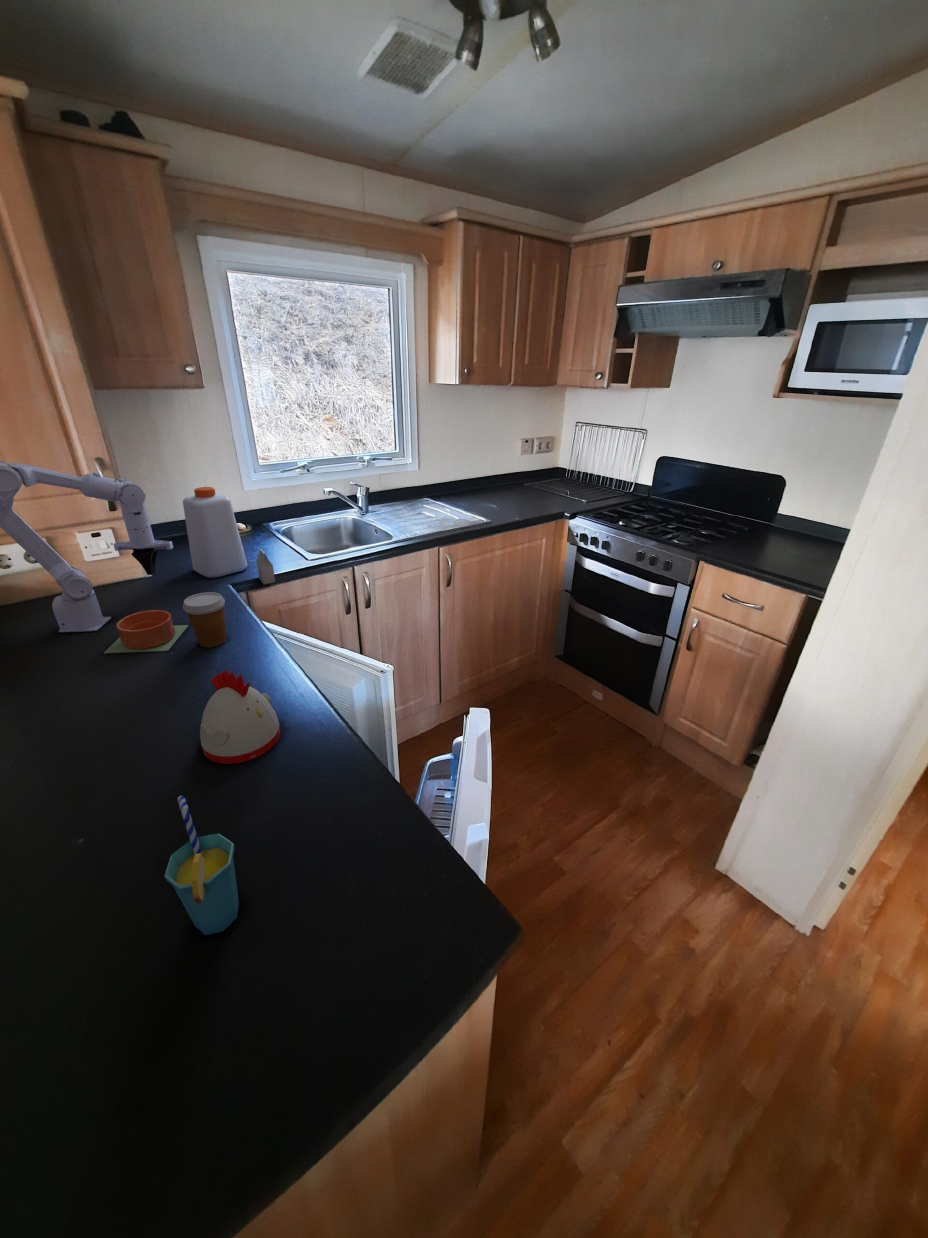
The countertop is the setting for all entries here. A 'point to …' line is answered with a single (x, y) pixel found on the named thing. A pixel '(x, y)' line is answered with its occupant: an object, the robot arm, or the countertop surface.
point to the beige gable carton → (265, 568)
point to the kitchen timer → (237, 722)
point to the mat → (120, 648)
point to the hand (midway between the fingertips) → (151, 573)
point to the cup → (205, 878)
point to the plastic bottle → (213, 534)
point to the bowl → (146, 629)
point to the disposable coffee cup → (207, 617)
